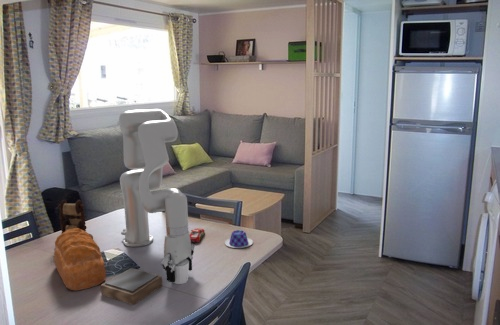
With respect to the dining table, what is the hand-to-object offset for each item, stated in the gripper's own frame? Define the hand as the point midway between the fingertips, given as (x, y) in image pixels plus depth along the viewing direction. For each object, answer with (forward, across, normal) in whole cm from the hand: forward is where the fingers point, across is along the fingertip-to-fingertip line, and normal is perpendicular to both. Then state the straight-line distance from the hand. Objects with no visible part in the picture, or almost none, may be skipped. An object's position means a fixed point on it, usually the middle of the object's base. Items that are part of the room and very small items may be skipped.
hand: (179, 275), depth 151 cm
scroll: (+2, -5, -60) cm, 60 cm away
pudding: (+2, -38, +2) cm, 38 cm away
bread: (+2, +13, -36) cm, 38 cm away
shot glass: (+2, 0, 0) cm, 2 cm away
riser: (+2, +13, -10) cm, 16 cm away
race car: (+2, -35, -18) cm, 39 cm away
